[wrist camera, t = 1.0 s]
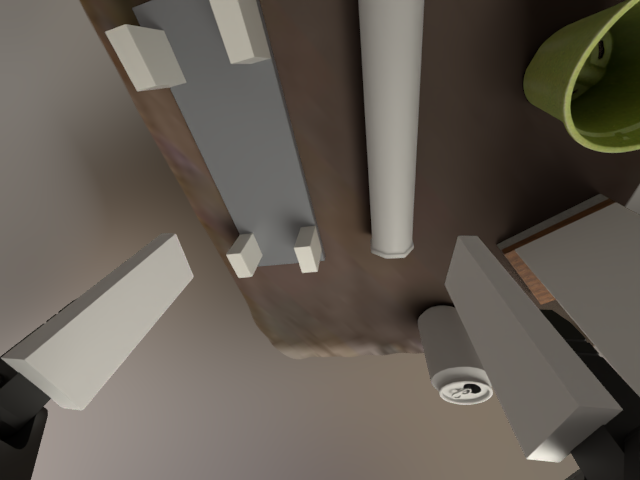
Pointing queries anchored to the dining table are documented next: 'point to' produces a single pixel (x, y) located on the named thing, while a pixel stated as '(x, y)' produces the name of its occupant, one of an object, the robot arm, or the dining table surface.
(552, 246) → the brown-trimmed grey box
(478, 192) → the dining table surface
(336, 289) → the dining table surface
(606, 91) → the plant pot
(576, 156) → the dining table surface
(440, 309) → the can
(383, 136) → the tube
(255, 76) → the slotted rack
